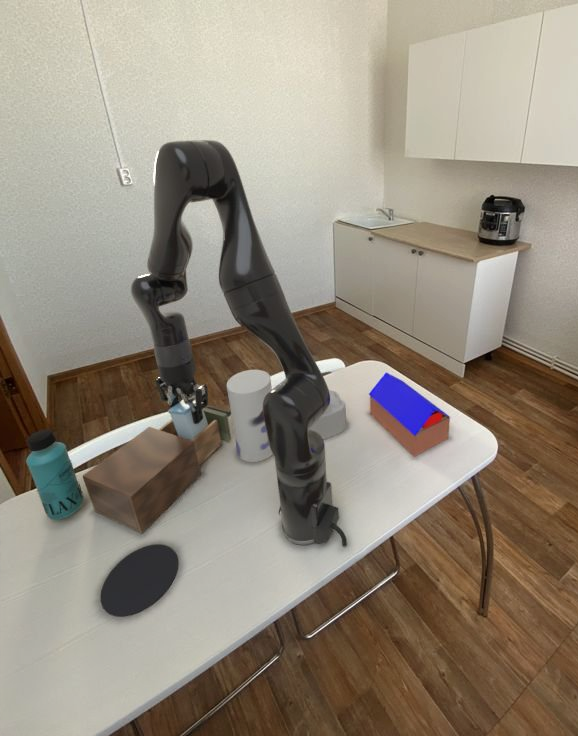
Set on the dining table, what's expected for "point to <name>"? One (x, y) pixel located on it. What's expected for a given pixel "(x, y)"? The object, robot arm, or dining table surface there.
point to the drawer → (207, 432)
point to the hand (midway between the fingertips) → (188, 418)
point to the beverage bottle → (53, 475)
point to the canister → (186, 421)
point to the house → (408, 415)
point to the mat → (139, 580)
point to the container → (249, 413)
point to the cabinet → (143, 478)
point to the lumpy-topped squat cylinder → (332, 418)
